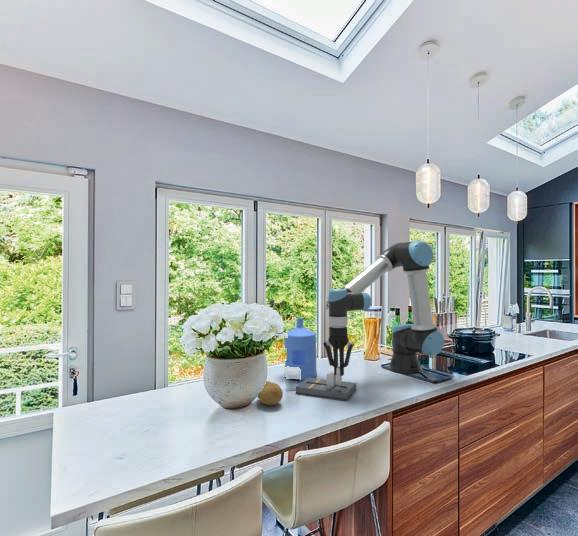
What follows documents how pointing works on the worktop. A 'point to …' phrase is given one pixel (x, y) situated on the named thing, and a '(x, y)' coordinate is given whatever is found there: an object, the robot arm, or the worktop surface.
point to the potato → (270, 393)
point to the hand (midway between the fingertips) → (339, 382)
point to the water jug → (301, 350)
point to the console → (326, 389)
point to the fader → (331, 378)
